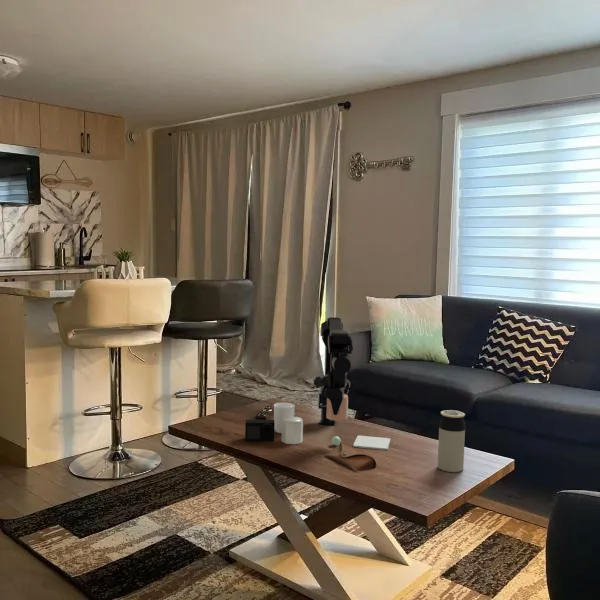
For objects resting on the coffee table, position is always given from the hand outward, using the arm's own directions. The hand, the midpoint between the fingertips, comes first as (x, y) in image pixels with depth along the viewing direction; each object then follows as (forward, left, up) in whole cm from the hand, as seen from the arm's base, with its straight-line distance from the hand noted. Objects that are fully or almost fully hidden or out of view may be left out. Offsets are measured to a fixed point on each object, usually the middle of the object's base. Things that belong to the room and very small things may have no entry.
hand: (337, 412), depth 213 cm
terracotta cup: (0, 0, -2) cm, 2 cm away
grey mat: (-6, +12, -12) cm, 18 cm away
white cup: (-11, -22, -12) cm, 27 cm away
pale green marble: (0, 0, -12) cm, 12 cm away
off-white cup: (0, -16, -12) cm, 20 cm away
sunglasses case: (+15, +7, -13) cm, 21 cm away
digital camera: (+2, -27, -12) cm, 30 cm away
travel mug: (+12, +39, -12) cm, 43 cm away
